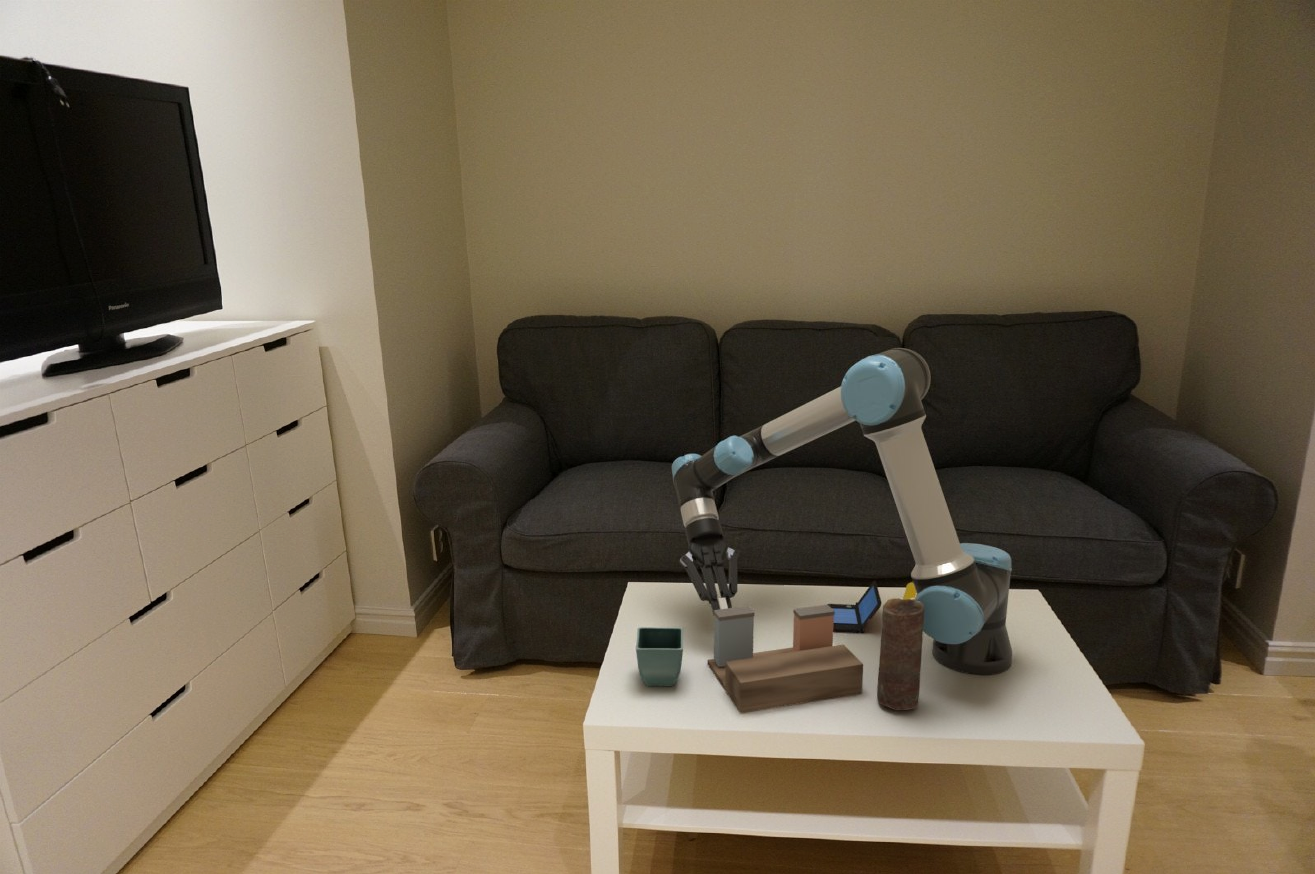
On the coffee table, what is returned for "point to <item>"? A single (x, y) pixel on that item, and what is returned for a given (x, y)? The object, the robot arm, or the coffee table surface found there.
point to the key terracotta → (813, 627)
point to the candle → (900, 654)
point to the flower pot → (659, 655)
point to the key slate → (733, 634)
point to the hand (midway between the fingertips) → (727, 631)
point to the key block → (790, 677)
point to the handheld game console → (856, 612)
